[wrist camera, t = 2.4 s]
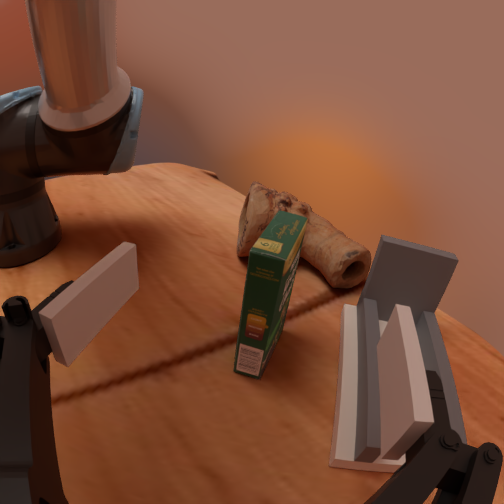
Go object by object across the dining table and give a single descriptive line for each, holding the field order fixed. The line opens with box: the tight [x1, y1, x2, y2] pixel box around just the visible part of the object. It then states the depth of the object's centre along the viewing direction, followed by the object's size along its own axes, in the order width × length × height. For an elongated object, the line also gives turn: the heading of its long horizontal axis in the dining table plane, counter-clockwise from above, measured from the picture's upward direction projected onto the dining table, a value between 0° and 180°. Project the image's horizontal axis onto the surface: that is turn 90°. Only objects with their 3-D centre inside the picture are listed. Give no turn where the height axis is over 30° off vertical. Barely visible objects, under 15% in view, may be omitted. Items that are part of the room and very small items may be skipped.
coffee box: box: [234, 211, 308, 379], centre depth 28 cm, size 8×3×13 cm, turn 160°
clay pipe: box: [237, 182, 371, 288], centre depth 44 cm, size 19×11×15 cm
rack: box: [329, 235, 467, 473], centre depth 25 cm, size 12×20×11 cm, turn 166°
